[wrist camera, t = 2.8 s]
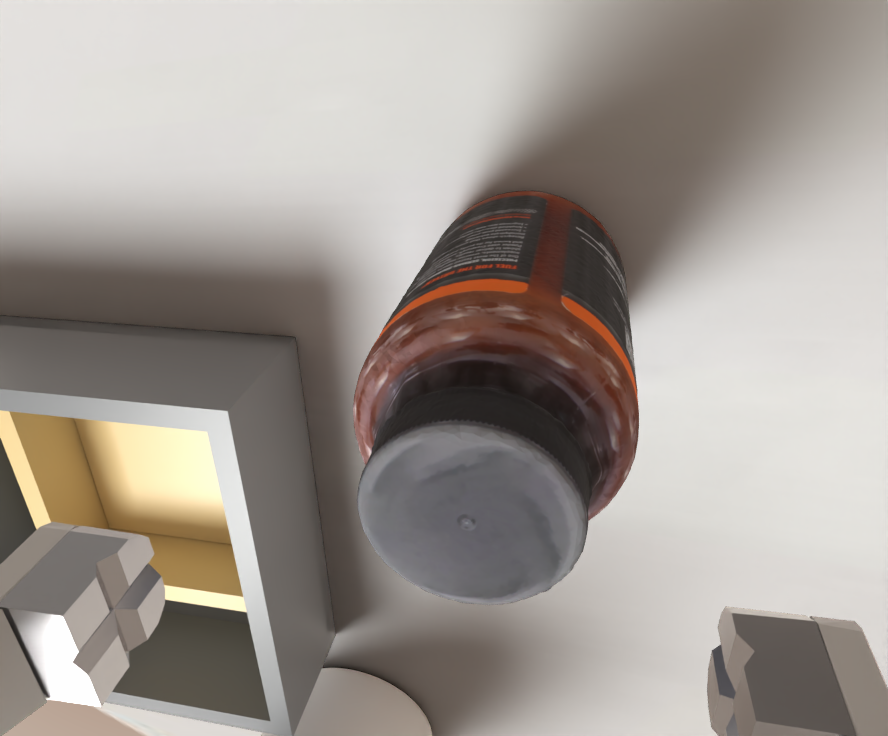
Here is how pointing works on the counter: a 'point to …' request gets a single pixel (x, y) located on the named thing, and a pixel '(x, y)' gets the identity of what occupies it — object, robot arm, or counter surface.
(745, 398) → the counter surface
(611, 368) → the supplement bottle
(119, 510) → the walled box
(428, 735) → the pill bottle
